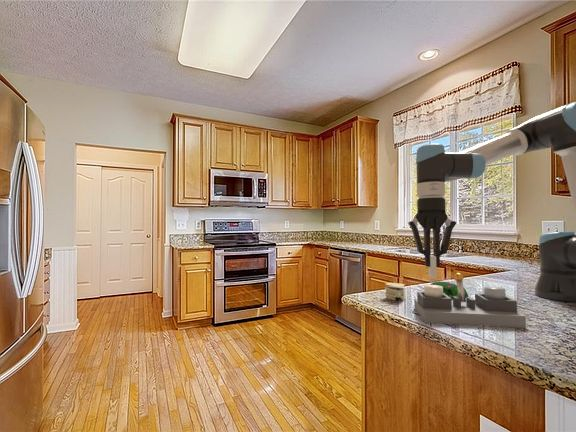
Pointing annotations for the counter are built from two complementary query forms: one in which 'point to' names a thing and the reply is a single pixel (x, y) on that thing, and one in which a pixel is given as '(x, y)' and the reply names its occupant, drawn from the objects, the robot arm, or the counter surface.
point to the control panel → (469, 311)
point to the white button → (433, 291)
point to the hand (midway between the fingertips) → (432, 277)
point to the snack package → (449, 289)
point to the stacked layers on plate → (395, 291)
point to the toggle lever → (460, 286)
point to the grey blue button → (494, 293)
